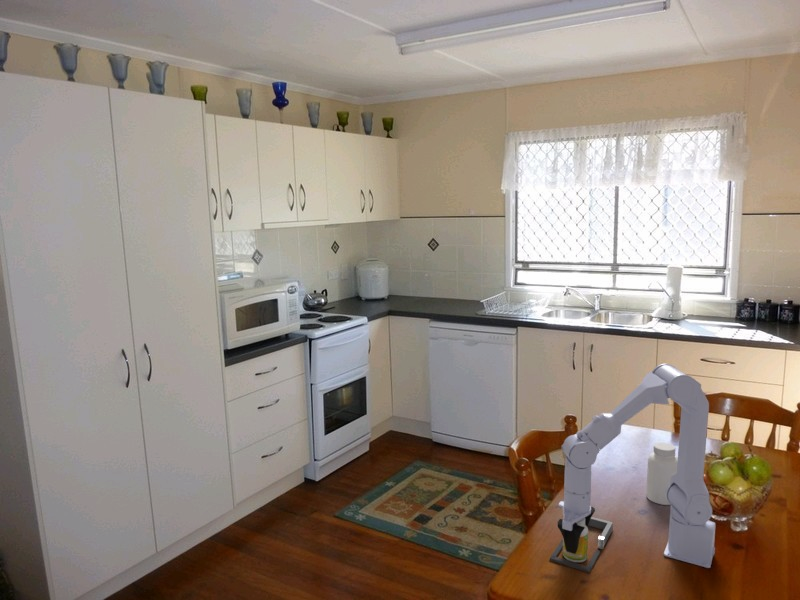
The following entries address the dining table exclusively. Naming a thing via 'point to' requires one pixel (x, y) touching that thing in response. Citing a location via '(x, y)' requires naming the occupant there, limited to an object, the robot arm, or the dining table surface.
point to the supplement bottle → (579, 545)
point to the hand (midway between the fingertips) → (575, 544)
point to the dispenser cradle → (604, 525)
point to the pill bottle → (660, 472)
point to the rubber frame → (572, 564)
